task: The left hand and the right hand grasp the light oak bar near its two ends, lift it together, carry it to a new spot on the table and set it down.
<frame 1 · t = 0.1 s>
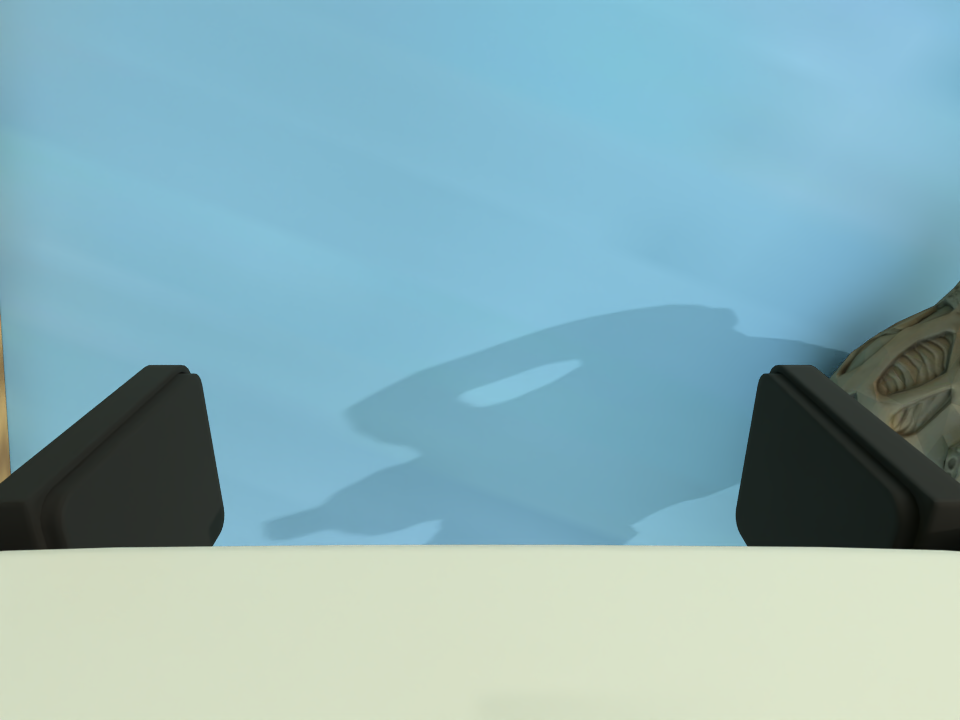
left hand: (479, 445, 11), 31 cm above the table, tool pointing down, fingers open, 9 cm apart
teapot: (875, 374, 44), on the table
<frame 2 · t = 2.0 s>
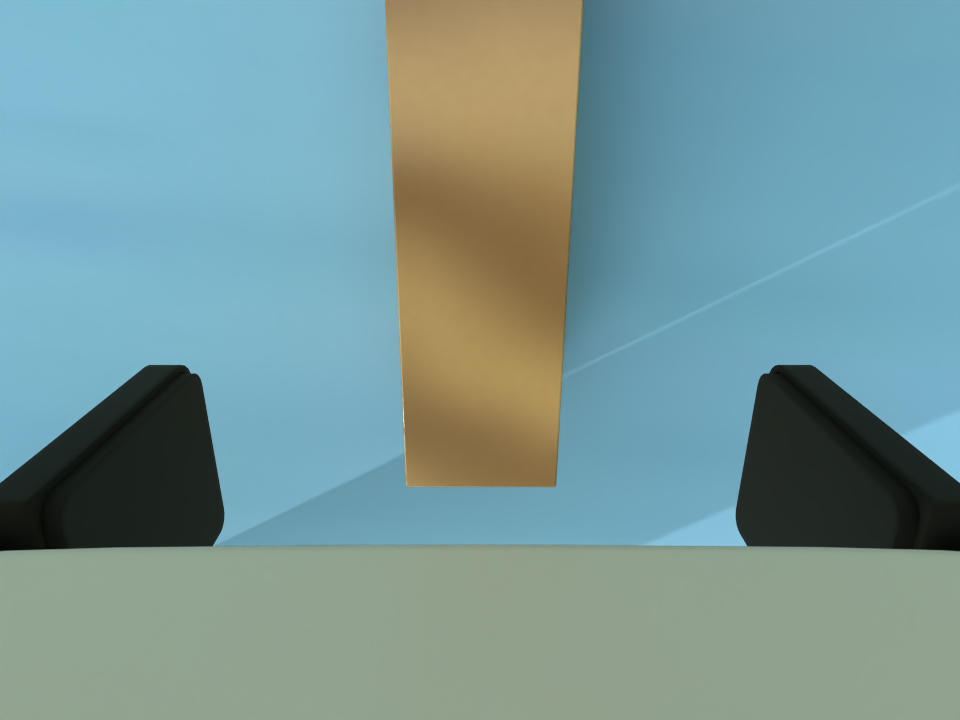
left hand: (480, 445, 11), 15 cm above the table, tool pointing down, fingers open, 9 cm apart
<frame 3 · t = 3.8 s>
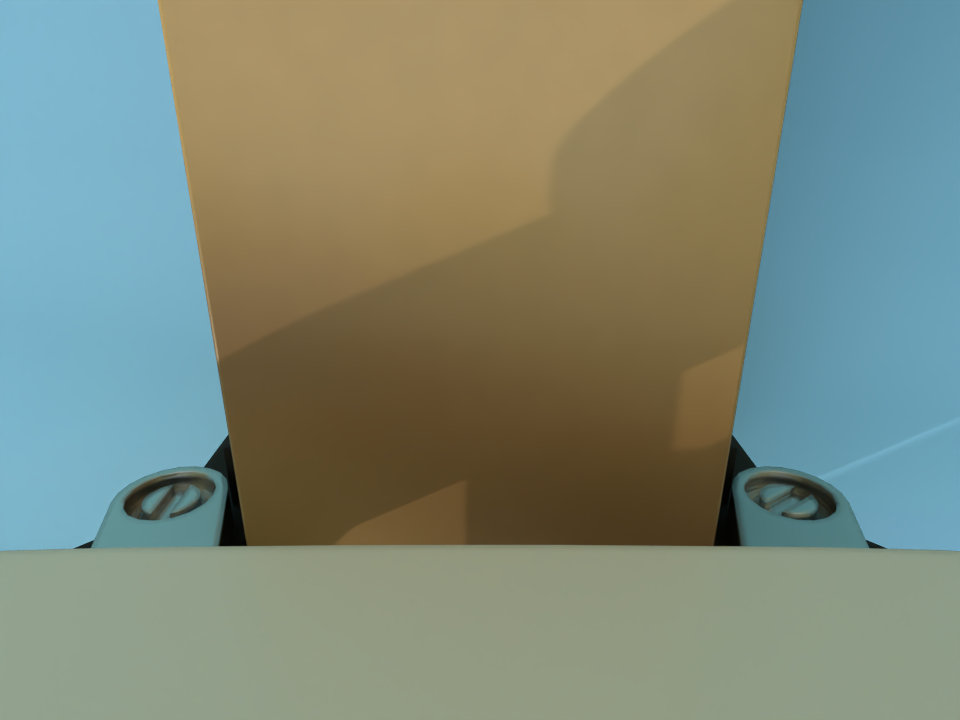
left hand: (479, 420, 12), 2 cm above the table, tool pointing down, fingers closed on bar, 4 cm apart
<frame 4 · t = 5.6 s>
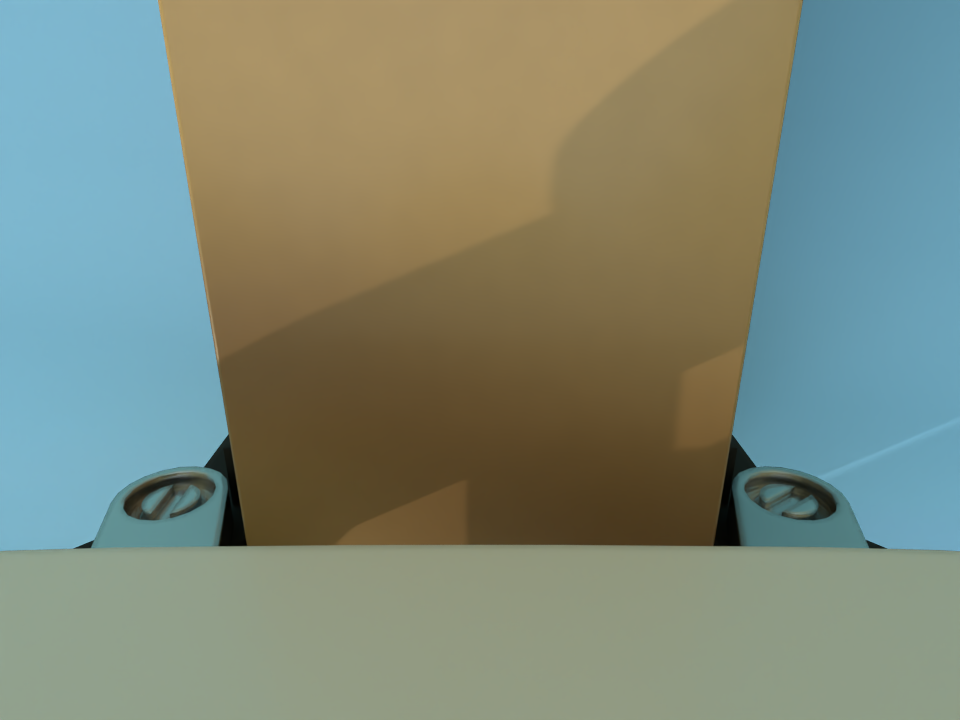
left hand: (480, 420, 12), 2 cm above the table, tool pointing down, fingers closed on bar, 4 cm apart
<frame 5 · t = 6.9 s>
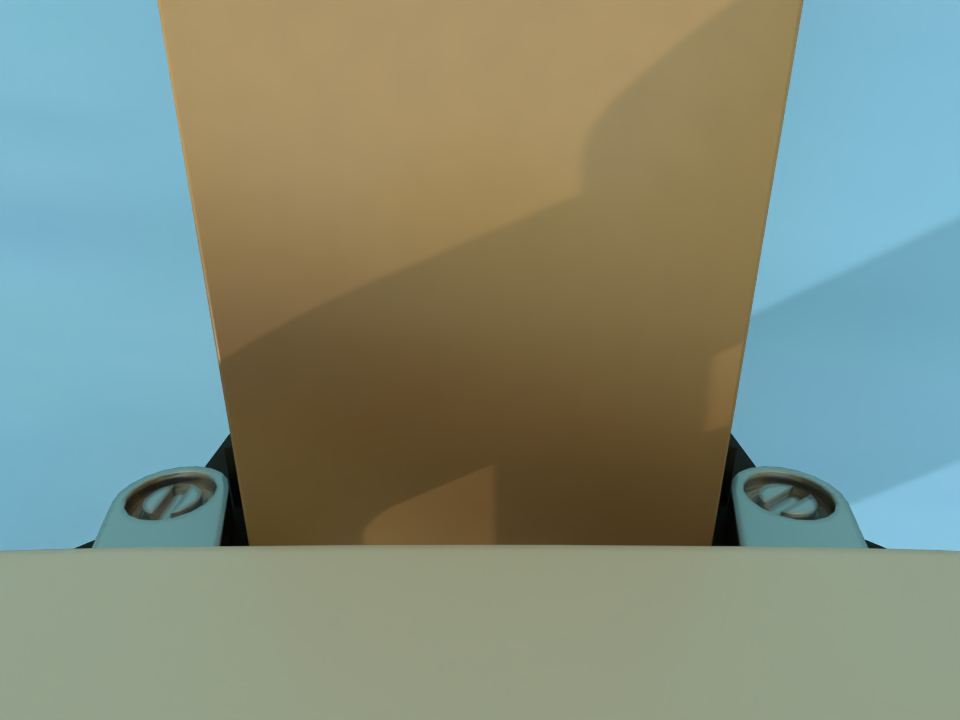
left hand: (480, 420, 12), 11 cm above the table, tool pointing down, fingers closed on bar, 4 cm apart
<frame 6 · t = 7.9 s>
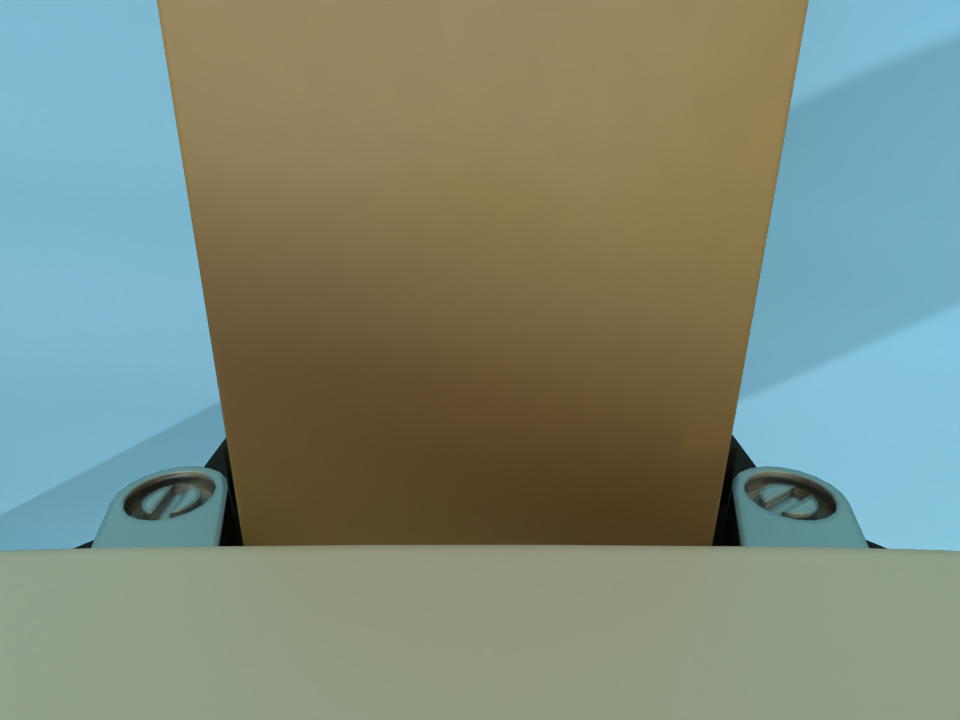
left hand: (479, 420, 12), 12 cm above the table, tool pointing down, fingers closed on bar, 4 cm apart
when the left hand's fingers open (4 cm above the table, at t = 10.5 s): bar drops 1 cm, on the table.
when the right hand's fingers open (4 cm above the table, at t = 10.6 s): bar stays where it is, on the table.
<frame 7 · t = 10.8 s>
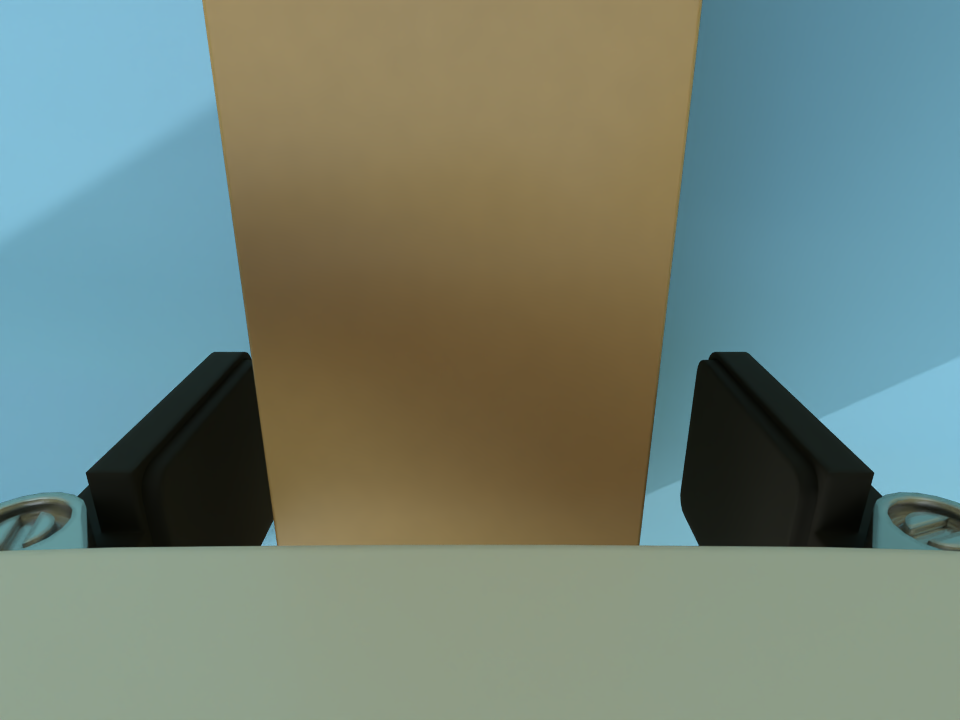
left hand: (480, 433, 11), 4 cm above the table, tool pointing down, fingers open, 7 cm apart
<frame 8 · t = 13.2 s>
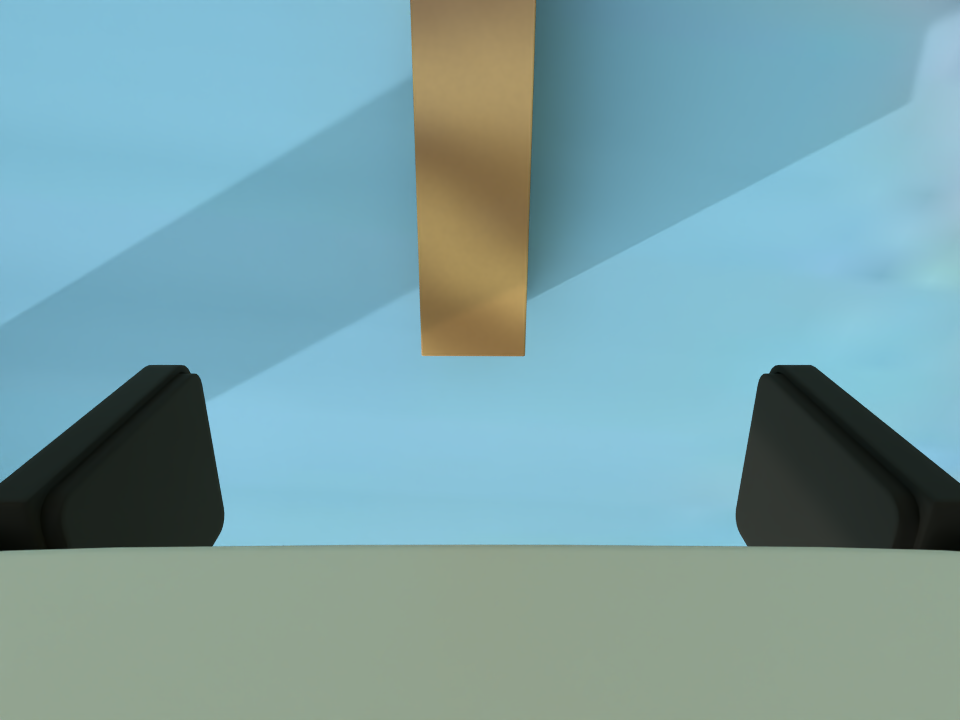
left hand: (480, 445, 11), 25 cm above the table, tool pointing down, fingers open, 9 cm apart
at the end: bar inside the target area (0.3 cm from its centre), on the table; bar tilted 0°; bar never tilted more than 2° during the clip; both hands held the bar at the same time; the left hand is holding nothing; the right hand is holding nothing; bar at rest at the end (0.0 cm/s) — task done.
